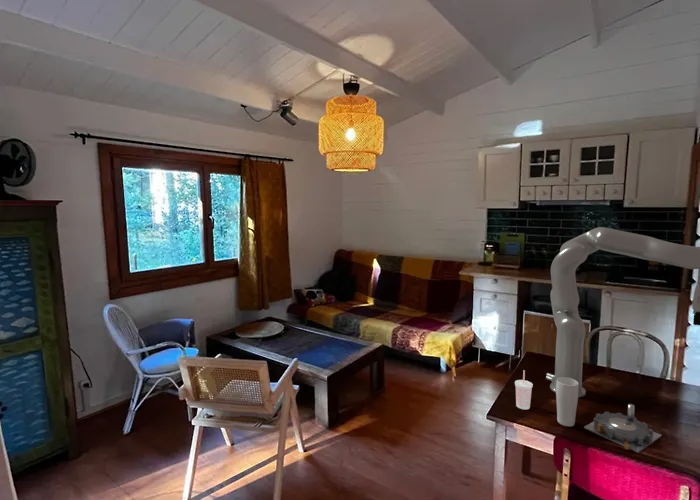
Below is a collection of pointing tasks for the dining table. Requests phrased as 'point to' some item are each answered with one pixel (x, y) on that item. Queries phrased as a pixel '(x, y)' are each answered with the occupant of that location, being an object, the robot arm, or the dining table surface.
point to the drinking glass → (566, 400)
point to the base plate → (627, 445)
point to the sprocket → (623, 426)
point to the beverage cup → (523, 393)
